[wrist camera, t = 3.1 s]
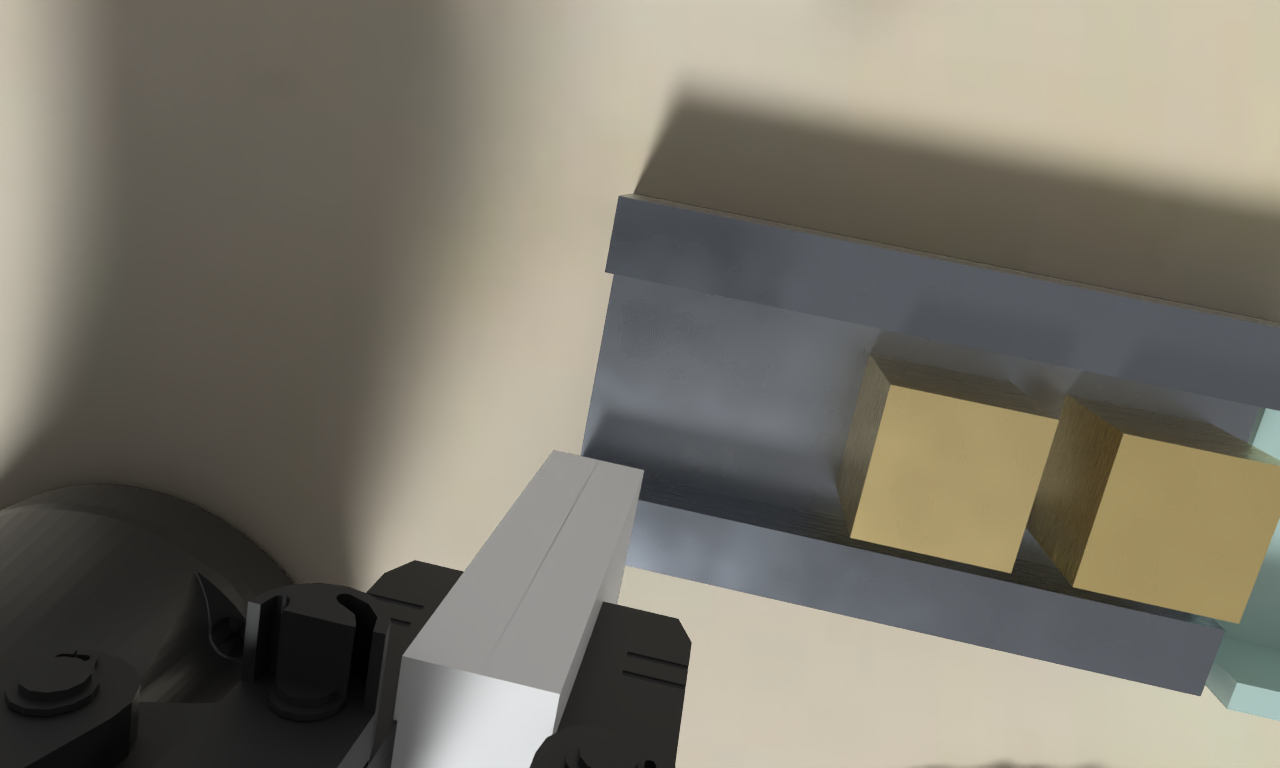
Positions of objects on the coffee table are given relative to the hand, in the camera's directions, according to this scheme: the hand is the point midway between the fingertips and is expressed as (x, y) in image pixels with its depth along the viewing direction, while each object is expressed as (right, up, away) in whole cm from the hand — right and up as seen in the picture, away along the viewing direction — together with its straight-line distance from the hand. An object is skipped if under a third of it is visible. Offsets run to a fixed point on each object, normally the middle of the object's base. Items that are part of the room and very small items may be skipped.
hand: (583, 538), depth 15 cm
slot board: (+9, +1, +12) cm, 15 cm away
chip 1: (+9, +1, +11) cm, 14 cm away
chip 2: (+14, 0, +11) cm, 18 cm away
